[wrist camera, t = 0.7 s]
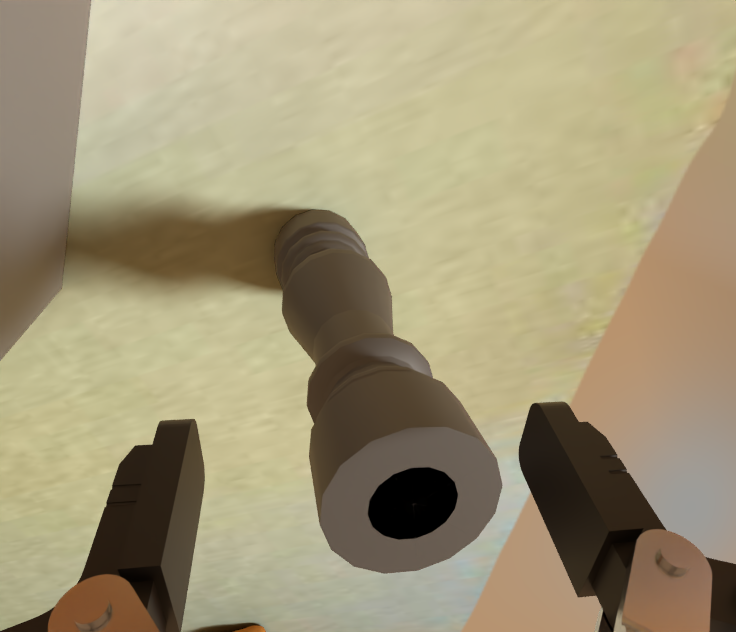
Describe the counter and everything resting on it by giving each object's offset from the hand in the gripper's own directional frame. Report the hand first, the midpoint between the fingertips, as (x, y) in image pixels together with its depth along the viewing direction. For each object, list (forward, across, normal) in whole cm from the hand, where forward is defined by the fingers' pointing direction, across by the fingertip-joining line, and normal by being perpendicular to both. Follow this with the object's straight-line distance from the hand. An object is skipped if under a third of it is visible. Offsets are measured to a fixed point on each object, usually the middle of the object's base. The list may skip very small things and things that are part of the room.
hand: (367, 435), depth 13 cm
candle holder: (+26, 0, +8) cm, 27 cm away
